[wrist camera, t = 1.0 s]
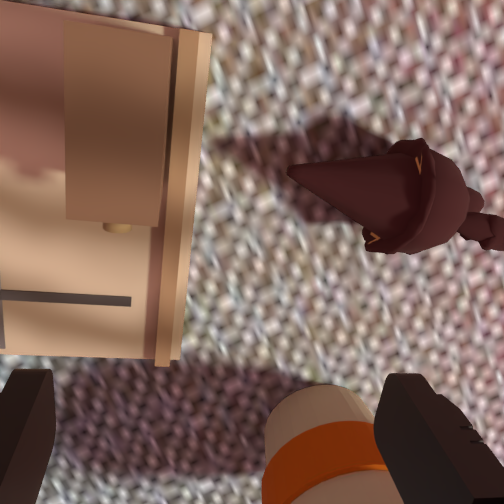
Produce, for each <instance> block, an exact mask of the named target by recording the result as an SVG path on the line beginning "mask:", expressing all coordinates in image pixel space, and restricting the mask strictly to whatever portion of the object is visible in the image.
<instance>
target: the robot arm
mask: <svg viewBox="0 0 504 504" xmlns="http://www.w3.org/2000/svg"><path fill="white" fill-rule="evenodd" d="M55 431H56V415H55V399H54V384H53V373H52V370H51V369H14V370H13V371H12V373H11V375H10V377H9V379H8V381H7V383H6V385H5V386H4V388H3V390H2V392H1V393H0V504H35V503H36V500H37V497H38V494H39V491H40V487H41V484H42V481H43V478H44V475H45V472H46V469H47V465H48V462H49V459H50V456H51V453H52V449H53V445H54V439H55ZM373 431H374V438H375V442H376V445H377V448H378V450H379V452H380V454H381V456H382V458H383V460H384V462H385V464H386V467H387V469H388V471H389V473H390V475H391V477H392V479H393V481H394V483H395V486H396V488H397V490H398V492H399V494H400V496H401V498H402V500H403V502H404V504H504V467H503V466H502V465H501V463H500V462H499V461H498V459H497V458H496V457H495V455H494V454H493V453H492V451H491V450H490V448H489V447H488V446H487V444H484V443H483V439H482V438H481V436H480V435H479V434H478V432H477V431H476V430H473V426H472V424H471V423H470V422H469V420H468V419H467V418H466V416H465V415H464V414H463V412H462V411H461V410H460V409H459V408H458V407H457V406H456V405H454V404H453V403H452V402H451V401H449V400H448V399H447V398H446V397H444V396H443V395H442V394H436V393H435V392H434V390H433V389H432V387H431V386H430V385H429V383H428V382H427V380H426V379H425V378H424V377H423V376H422V375H421V374H418V373H391V374H389V375H388V376H387V378H386V380H385V383H384V387H383V390H382V394H381V397H380V401H379V404H378V408H377V411H376V415H375V418H374V425H373Z"/></svg>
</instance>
